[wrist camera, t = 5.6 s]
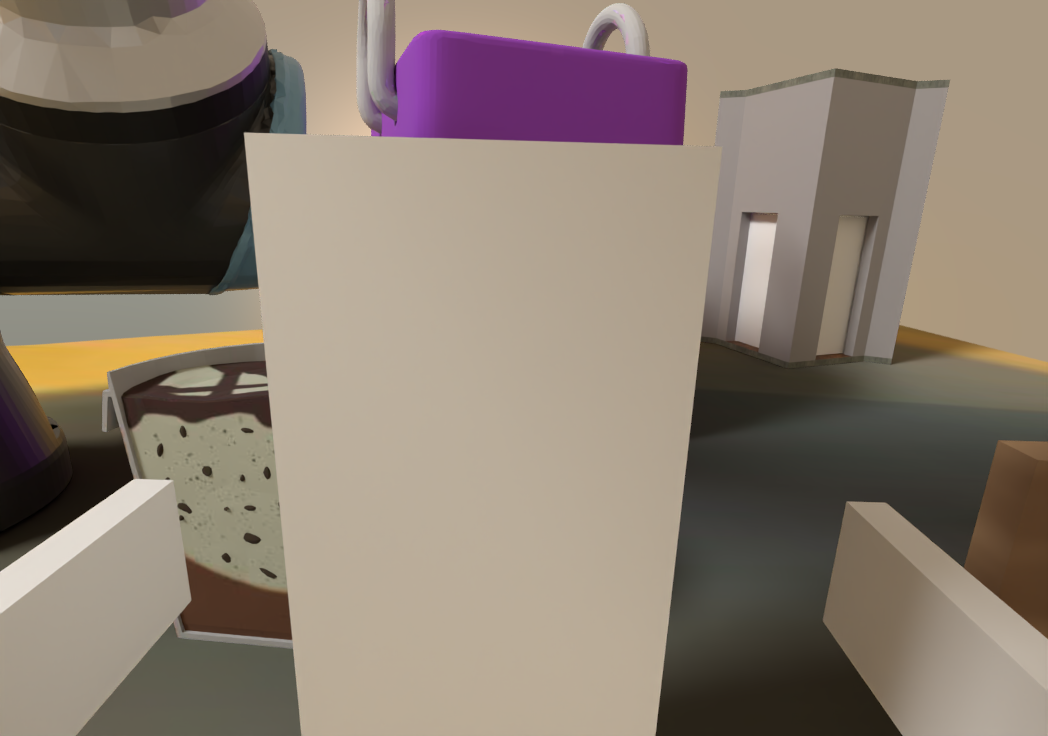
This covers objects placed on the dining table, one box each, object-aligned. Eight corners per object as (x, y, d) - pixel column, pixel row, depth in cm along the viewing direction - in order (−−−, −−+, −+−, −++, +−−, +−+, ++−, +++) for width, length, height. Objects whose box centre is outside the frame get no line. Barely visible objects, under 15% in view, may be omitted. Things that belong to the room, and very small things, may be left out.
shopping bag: (322, 369, 55) (297, 10, 47) (520, 346, 66) (528, 53, 58) (442, 497, 32) (435, -170, 23) (717, 429, 43) (777, -41, 35)
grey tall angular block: (889, 361, 64) (946, 83, 56) (900, 383, 56) (970, 60, 48) (695, 338, 72) (722, 94, 65) (679, 354, 64) (709, 76, 56)
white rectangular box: (425, 754, 17) (412, 176, 13) (573, 759, 17) (611, 182, 13) (338, 1215, 9) (226, 132, 5) (609, 1223, 9) (739, 147, 5)
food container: (496, 561, 26) (500, 345, 23) (472, 665, 20) (473, 392, 17) (234, 541, 27) (209, 331, 24) (138, 634, 21) (91, 371, 18)
